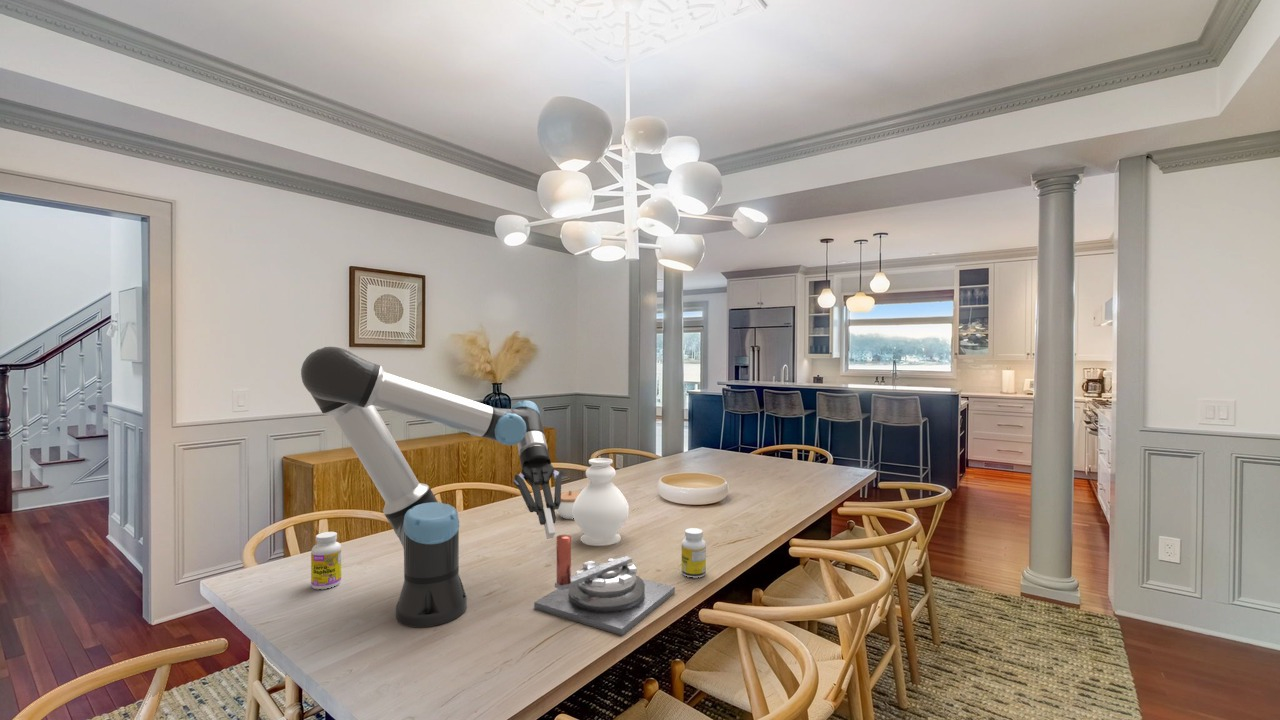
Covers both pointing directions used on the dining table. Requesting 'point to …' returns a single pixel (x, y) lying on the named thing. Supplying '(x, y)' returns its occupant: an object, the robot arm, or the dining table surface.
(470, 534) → the dining table surface
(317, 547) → the supplement bottle
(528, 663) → the dining table surface
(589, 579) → the red grip crank lever
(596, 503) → the decorative vase
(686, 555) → the pill bottle
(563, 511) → the lidded jar
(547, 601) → the grey crank base
